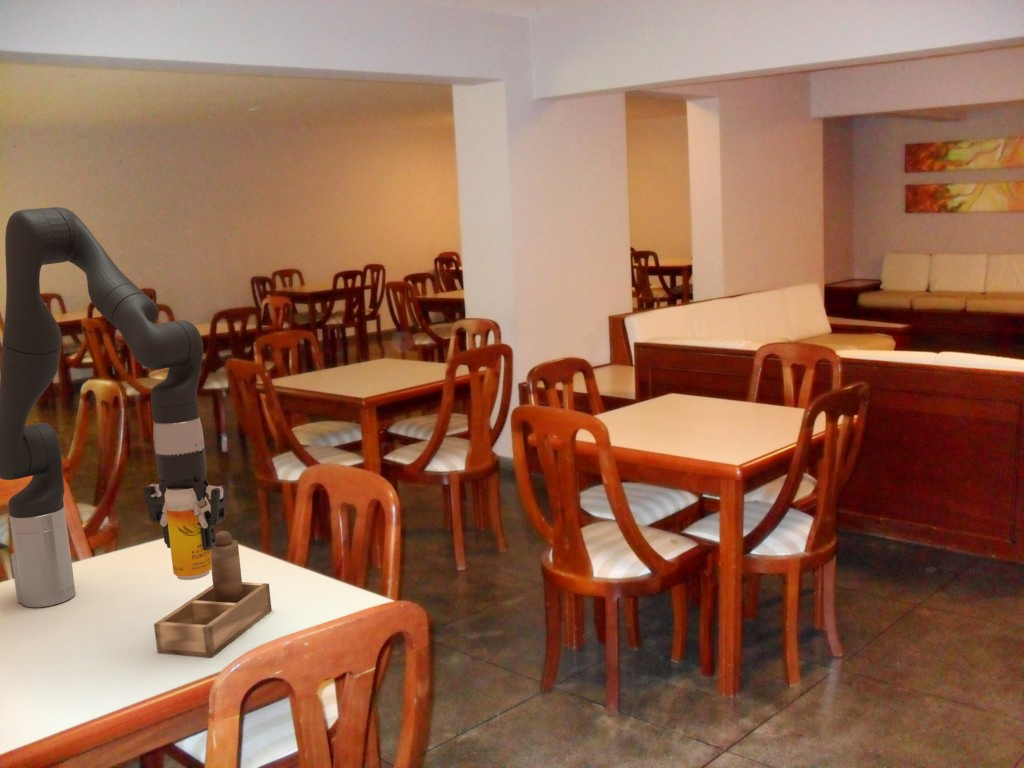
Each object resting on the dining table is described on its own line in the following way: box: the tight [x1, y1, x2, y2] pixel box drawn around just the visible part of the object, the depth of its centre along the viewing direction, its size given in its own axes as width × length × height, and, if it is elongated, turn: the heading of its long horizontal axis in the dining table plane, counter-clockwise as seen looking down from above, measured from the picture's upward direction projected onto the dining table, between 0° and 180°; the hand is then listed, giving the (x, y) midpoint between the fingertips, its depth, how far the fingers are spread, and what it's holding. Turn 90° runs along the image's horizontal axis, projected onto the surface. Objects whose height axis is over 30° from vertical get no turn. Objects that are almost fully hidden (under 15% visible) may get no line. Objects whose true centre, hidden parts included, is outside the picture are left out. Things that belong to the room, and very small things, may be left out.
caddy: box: [153, 530, 272, 658], centre depth 167 cm, size 10×19×16 cm, turn 164°
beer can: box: [163, 487, 212, 581], centre depth 161 cm, size 6×6×15 cm
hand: (190, 547), depth 161 cm, fingers closed on beer can, 6 cm apart
